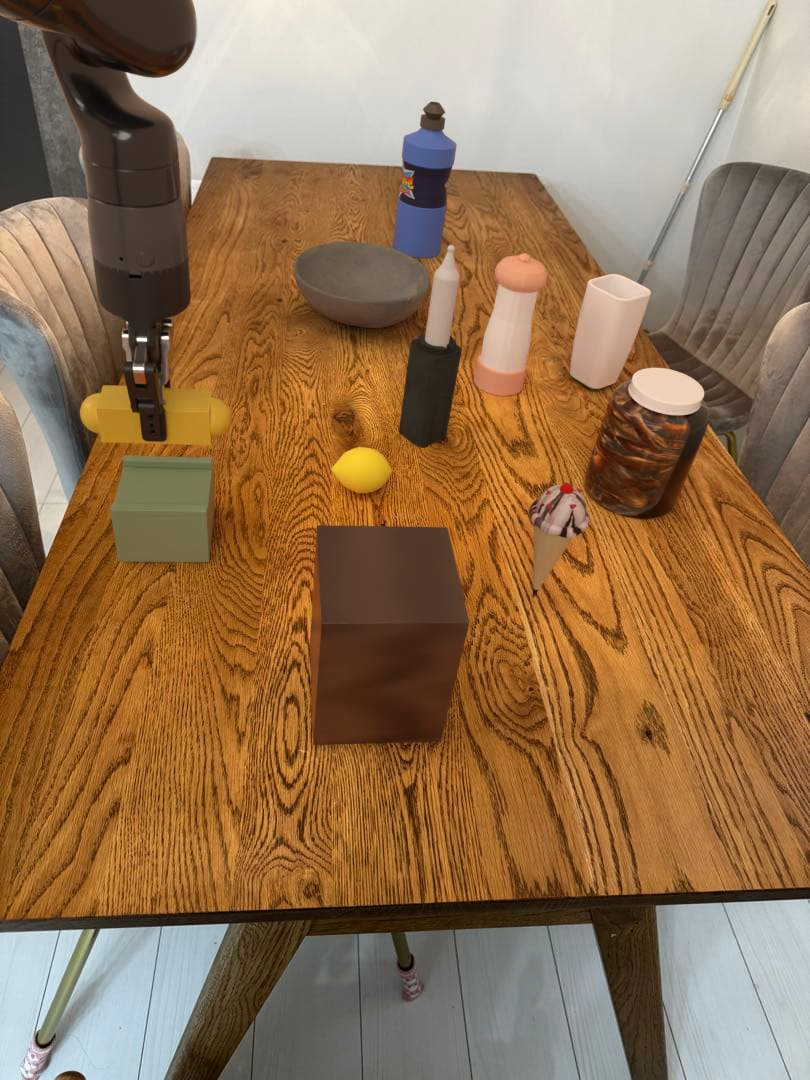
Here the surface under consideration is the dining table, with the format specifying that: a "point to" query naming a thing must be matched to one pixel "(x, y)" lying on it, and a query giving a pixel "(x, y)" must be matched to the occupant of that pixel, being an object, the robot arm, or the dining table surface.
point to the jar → (647, 443)
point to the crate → (384, 634)
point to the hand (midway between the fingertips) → (157, 425)
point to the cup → (607, 329)
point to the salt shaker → (510, 326)
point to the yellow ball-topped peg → (186, 413)
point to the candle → (433, 364)
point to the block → (164, 509)
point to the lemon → (362, 470)
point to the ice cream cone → (555, 527)
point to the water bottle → (424, 186)
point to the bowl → (361, 283)
